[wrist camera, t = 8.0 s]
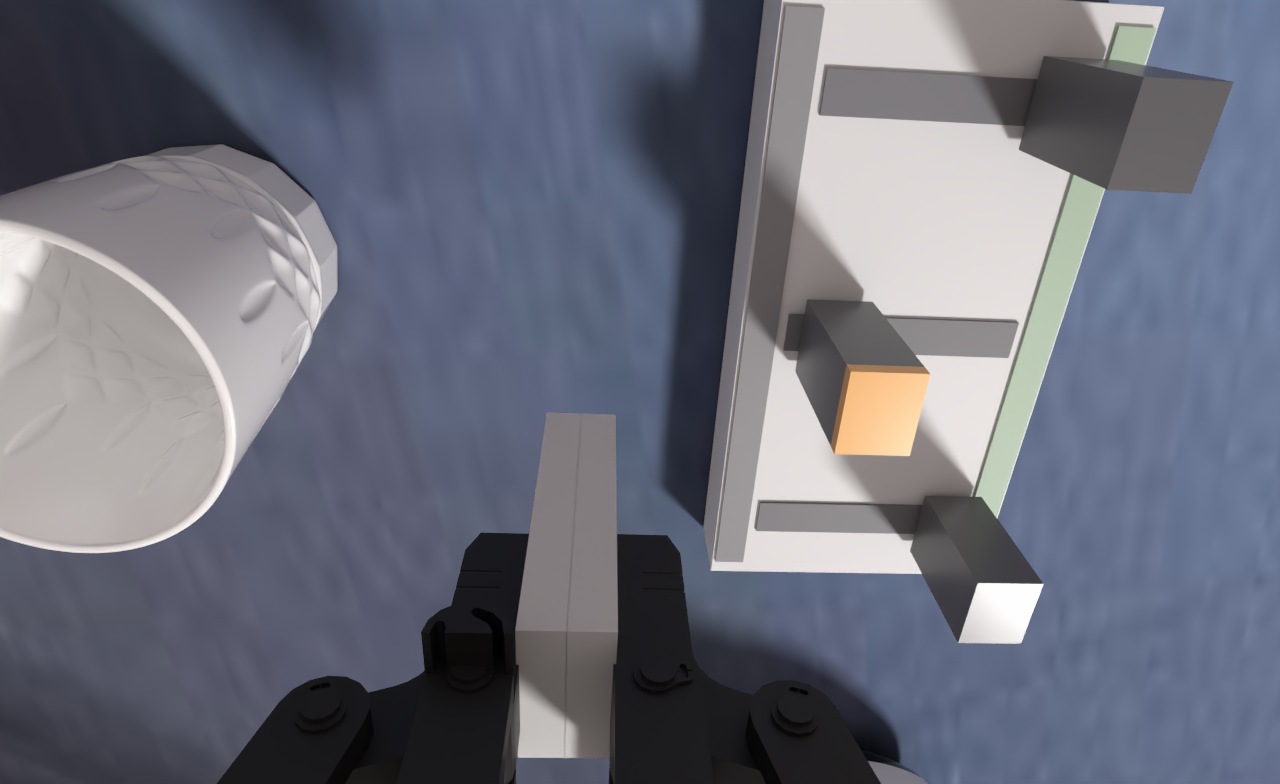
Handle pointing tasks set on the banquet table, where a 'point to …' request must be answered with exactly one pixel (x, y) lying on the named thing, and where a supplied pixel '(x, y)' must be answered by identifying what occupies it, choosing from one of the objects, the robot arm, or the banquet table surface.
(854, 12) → the breaker panel
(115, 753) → the banquet table surface
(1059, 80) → the handle
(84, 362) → the white cup
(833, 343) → the handle
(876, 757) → the spread jar
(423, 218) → the banquet table surface
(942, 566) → the handle
